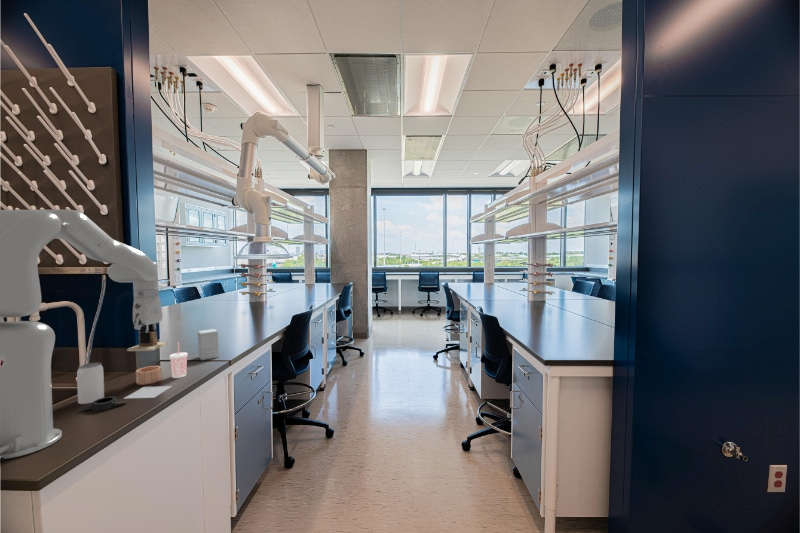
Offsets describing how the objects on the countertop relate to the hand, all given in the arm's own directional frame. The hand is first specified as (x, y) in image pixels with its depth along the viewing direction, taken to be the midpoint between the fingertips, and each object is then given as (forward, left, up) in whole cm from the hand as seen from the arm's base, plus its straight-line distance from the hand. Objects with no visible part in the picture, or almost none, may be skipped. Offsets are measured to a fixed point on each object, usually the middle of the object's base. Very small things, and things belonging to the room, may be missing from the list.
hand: (148, 341), depth 129 cm
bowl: (0, 0, -15) cm, 15 cm away
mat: (-11, -7, -15) cm, 20 cm away
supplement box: (+31, -7, -16) cm, 35 cm away
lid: (0, 0, -2) cm, 2 cm away
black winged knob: (-23, -1, -16) cm, 28 cm away
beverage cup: (+5, -8, -16) cm, 18 cm away
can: (-16, +8, -16) cm, 24 cm away
